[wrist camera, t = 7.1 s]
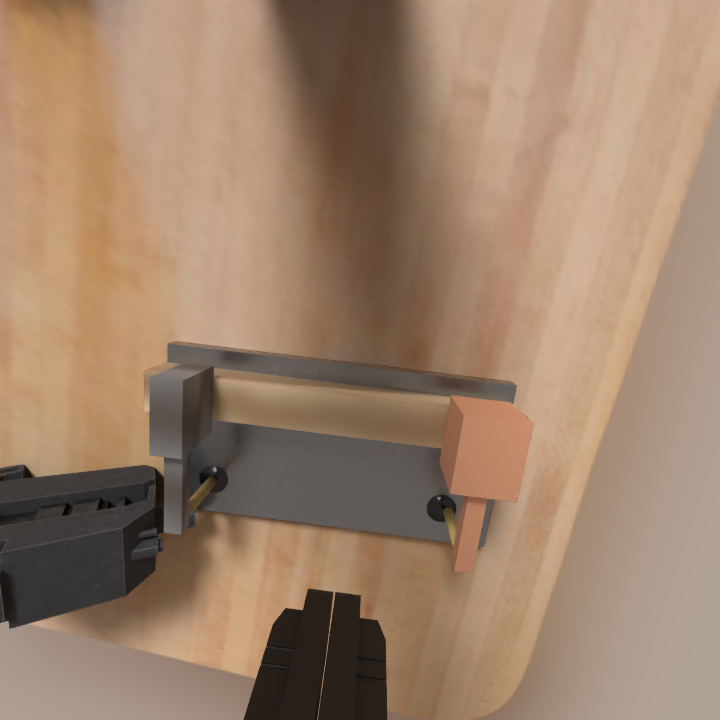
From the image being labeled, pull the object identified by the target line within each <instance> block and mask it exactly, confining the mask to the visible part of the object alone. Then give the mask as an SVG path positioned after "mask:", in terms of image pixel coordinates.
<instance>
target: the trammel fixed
mask: <svg viewBox="0 0 720 720" xmlns="http://www.w3.org/2000/svg"><path fill="white" fill-rule="evenodd" d="M449 403H450V397H448V396H440V395H432V394H424V393H415V392H407V391H399V390H391V389H382V388H374V387H366V386H358V385H350V384H341V383H333V382H325V381H317V380H308V379H300V378H292V377H284V376H275V375H267V374H259V373H251V372H243V371H234V370H226V369H218V368H214V366H212V365H204V364H196V363H188V362H185V363H183V364H177V363H169V362H167V363H164V364H162V365H159V366H156V367H153V368H151V369H148V370H145V371H144V411H146V412H150V455H152V456H159V457H164V533H171V534H178V535H182V533H183V532H184V531H185V530H186V528H187V527H188V526H189V516H190V515H191V514H192V512H193V511H194V510H195V509H196V508H197V506H198V505H199V504H200V503H201V501H202V500H203V499H204V498H205V497H206V495H207V494H208V493H209V492H210V490H211V489H212V488H213V487H214V486H215V484H216V483H217V479H216V478H215V477H213V476H210V477H209V478H208V479H207V480H206V481H205V482H204V483H203V484H202V485H201V487H200V488H199V489H198V490H197V491H196V492H195V493H194V495H193V496H192V497H191V498H190V499H189V495H190V451H192V450H193V449H194V448H195V447H196V446H197V445H198V444H200V443H201V442H202V441H203V440H204V439H205V438H206V437H207V436H209V435H210V434H211V433H212V420H218V421H226V422H234V423H242V424H250V425H258V426H266V427H274V428H282V429H290V430H298V431H306V432H314V433H322V434H330V435H338V436H346V437H354V438H362V439H370V440H378V441H386V442H394V443H402V444H410V445H418V446H426V447H434V448H442V445H443V439H444V433H445V427H446V421H447V415H448V409H449ZM512 405H513V404H512ZM513 406H514V405H513ZM514 407H515V406H514ZM517 409H518V408H517ZM518 410H519V409H518ZM519 411H520V410H519ZM520 412H521V411H520ZM521 413H522V412H521ZM522 414H523V413H522ZM523 415H524V414H523ZM526 417H527V416H526ZM527 418H528V417H527Z"/></svg>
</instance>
